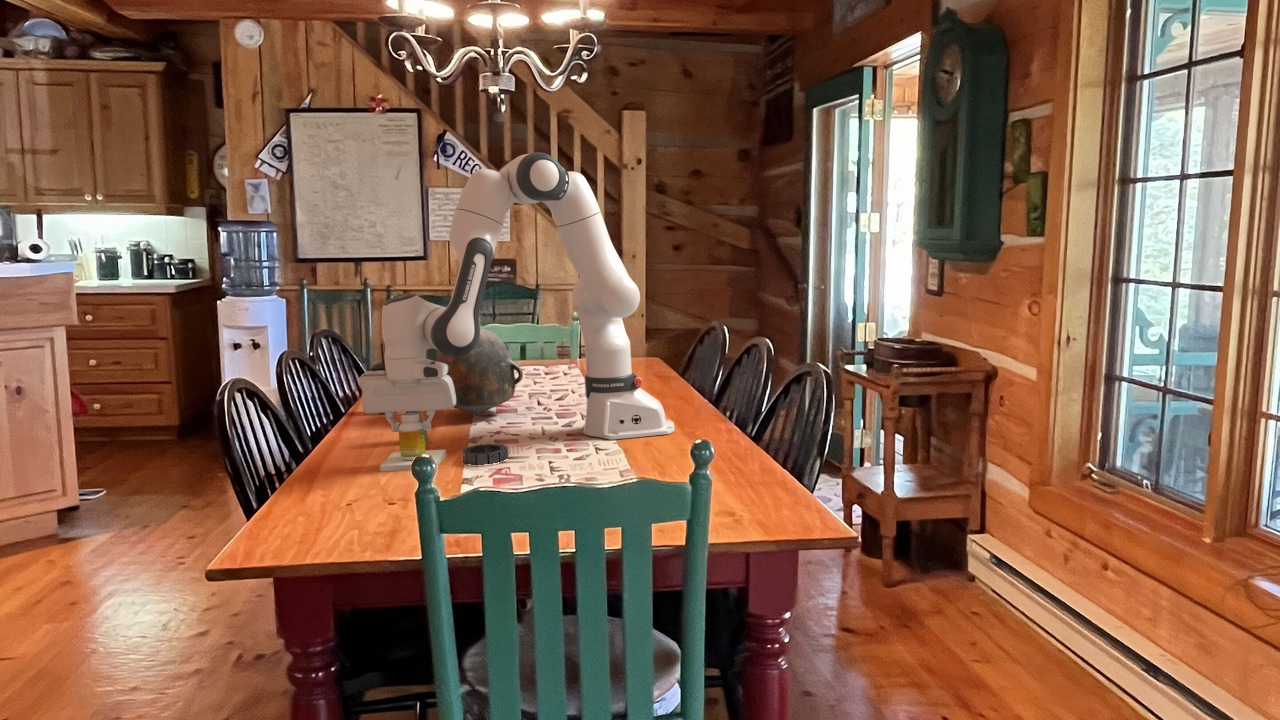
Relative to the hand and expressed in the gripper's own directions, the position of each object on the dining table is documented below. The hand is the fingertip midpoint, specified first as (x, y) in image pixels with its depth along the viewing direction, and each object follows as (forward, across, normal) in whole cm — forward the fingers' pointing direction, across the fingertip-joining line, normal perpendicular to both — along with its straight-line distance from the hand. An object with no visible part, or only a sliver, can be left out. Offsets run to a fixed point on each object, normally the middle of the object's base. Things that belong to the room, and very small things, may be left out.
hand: (411, 430), depth 202 cm
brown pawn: (+8, -4, +21) cm, 23 cm away
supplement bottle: (+6, 0, -1) cm, 6 cm away
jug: (+8, +7, +47) cm, 48 cm away
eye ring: (+7, +16, -1) cm, 18 cm away
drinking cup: (+8, -20, +58) cm, 62 cm away
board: (+7, 0, 0) cm, 7 cm away
